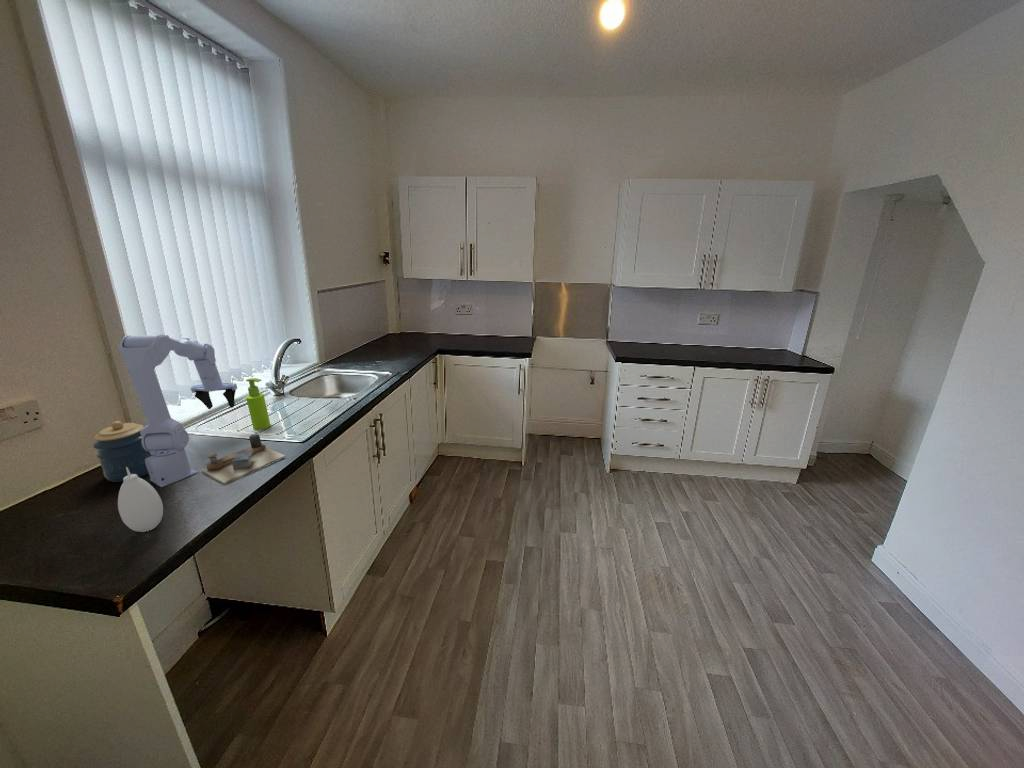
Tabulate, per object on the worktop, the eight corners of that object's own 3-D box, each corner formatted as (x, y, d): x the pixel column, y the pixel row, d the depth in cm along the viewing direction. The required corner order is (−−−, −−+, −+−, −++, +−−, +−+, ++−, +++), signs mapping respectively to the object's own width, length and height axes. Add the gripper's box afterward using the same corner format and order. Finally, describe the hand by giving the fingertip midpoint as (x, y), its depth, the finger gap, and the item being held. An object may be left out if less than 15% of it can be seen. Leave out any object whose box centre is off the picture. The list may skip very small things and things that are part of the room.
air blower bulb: (127, 529, 102) (103, 466, 96) (166, 515, 107) (146, 455, 101) (129, 544, 97) (104, 479, 91) (170, 529, 102) (149, 466, 96)
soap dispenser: (264, 430, 157) (253, 381, 151) (249, 429, 158) (238, 380, 152) (276, 424, 162) (265, 377, 156) (261, 422, 164) (250, 376, 157)
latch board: (224, 484, 121) (223, 482, 121) (202, 472, 128) (201, 470, 128) (285, 457, 136) (285, 455, 136) (263, 447, 143) (262, 445, 143)
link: (211, 471, 126) (207, 456, 124) (204, 468, 128) (200, 453, 126) (266, 449, 140) (263, 435, 138) (259, 446, 142) (256, 432, 140)
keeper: (250, 470, 129) (247, 459, 127) (234, 472, 127) (231, 461, 126) (256, 460, 135) (253, 449, 133) (240, 462, 133) (238, 451, 132)
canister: (128, 485, 121) (108, 432, 116) (94, 480, 124) (73, 428, 118) (170, 463, 133) (154, 414, 128) (139, 460, 136) (122, 411, 130)
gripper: (236, 369, 150) (246, 400, 157) (193, 371, 148) (205, 402, 155) (227, 377, 144) (238, 409, 151) (182, 380, 142) (196, 412, 149)
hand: (221, 407), depth 152 cm, fingers open, 7 cm apart
